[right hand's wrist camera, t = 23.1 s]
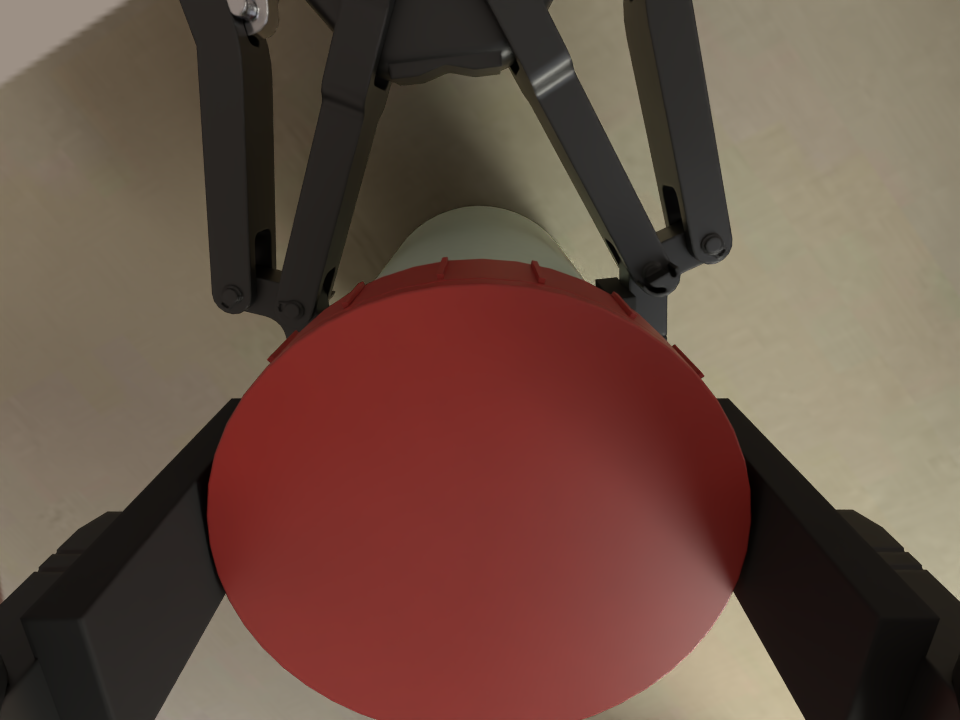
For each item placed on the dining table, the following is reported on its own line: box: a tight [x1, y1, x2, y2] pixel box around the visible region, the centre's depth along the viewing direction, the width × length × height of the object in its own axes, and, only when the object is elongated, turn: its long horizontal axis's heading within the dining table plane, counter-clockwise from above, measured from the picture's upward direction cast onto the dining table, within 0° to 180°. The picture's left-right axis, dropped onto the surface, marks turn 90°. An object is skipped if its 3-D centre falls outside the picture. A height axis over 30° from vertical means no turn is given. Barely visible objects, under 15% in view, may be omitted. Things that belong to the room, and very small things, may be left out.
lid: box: [207, 257, 751, 720], centre depth 11 cm, size 10×10×2 cm
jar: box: [374, 206, 585, 281], centre depth 19 cm, size 9×9×16 cm
